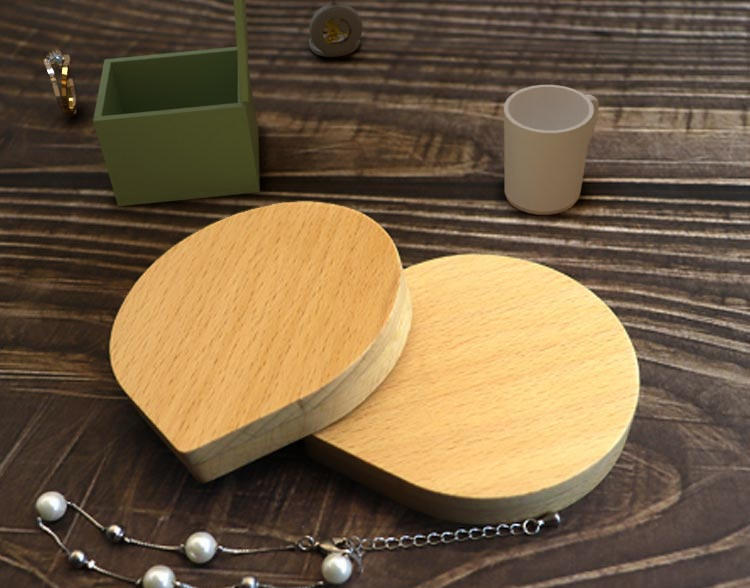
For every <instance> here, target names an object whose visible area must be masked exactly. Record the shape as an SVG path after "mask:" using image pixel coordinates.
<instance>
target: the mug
mask: <svg viewBox="0 0 750 588" xmlns="http://www.w3.org/2000/svg"><path fill="white" fill-rule="evenodd" d="M599 110H600V105H599V101H598V98H597V97H595V96H594V95H592V94H590V93H587V94H584V93H582V92H580V91H579V90H577V89H575V88H572V87H568V86H566V85H565V86H563V85H557V84H538V85H531V86H527V87H524V88H521V89H519V90H517V91H515V92H513V93H512V94H511V95H510V96H508V97H507V98H506V100H505V102H504V103H503V165H504V166H503V167H504V168H503V169H504V170H503V172H504V173H503V175H504V177H503V178H504V180H503V181H504V182H503V183H504V184H503V185H504V195H505V198H506V200H507V201H508V202H509V203H510V204H511V206H513V208H516V209H517V210H519V211H521V212H525V213H527V214H530V215H537V216H549V215H556V214H560V213H563V212H565V211H567V210H569V209H570V208H572V207H573V206H574V205H575V204H576V203H577V202H578V201H579V199H580V196H581V191H582V185H583V179H584V175H585V168H586V162H587V156H588V151H589V145H590V142H591V140H592V137H593V134H594V131H595V128H596V124H597V121H598V116H599Z"/></svg>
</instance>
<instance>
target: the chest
mask: <svg viewBox="0 0 750 588" xmlns="http://www.w3.org/2000/svg"><path fill="white" fill-rule="evenodd" d="M248 91H249V101H248V102H241V98H240V84H239V70H238V56H237V46H229V47H219V48H210V49H209V48H208V49H198V50H188V51H187V50H186V51H178V52H167V53H156V54H146V55H137V56H126V57H125V56H124V57H114V58H105V59H104V60H103V65H102V71H101V76H100V82H99V87H98V92H97V96H96V97H97V98H96V104H95V109H94V113H93V119H92V123H93V126H94V129H95V132H96V136H97V139H98V143H99V146H100V149H101V154H102V157H103V161H104V162H105V163H104V164H105V167H106V170H107V173H108V178H109V180H110V183H111V188H112V190H113V195H114V197H115V200H116V205H117V207H125V206H136V205H137V206H138V205H147V204H157V203H166V202H176V201H186V200H197V199H206V198H216V197H227V196H235V195H236V196H237V195H245V194H257V193H260V192H261V191H260V189H261V187H260V184H261V183H260V147H259V146H260V144H259V143H260V142H259V141H260V140H259V139H260V137H259V125H258V119H257V112H256V105H255V100H254V92H253V87H252V81H251V75H250V69H249V67H248Z"/></svg>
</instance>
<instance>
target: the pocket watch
mask: <svg viewBox="0 0 750 588" xmlns="http://www.w3.org/2000/svg"><path fill="white" fill-rule="evenodd" d="M330 1H331V2H330V3H328V4H325V5H323V6H321V7H320V8H319V9H318V10H317V11H315V12H314V14H313V16H312V18H311V19H310V22H309V25H308V26H309V27H308V31H309V32H308V33H309V37H310V38H309V40H308V46H309V48H310V50H311V51H312V52H313V54H316V55H318V56H320V57H326V58H338V57H342V56H347V55H349V54H351V53H353V52H355V50H357V49H358V48H359V46H360V42H361V37H362V34H363V23H362V19H361V16H360V15H359V13H358V11H356V10H355V9H354V8H353V7H352V6H350V5H348V4H345V3H342V2H336V0H330Z"/></svg>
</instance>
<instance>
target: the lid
mask: <svg viewBox="0 0 750 588" xmlns="http://www.w3.org/2000/svg"><path fill="white" fill-rule="evenodd" d="M246 3H247V2H246V0H233V12H234V26H235V27H234V29H235V40H236V41H235V42H236V47H237V56H238V70H239V84H240V98H241V102H248V101H249V91H248V68H249V33H248V19H247V18H248V17H247V4H246Z"/></svg>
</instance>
